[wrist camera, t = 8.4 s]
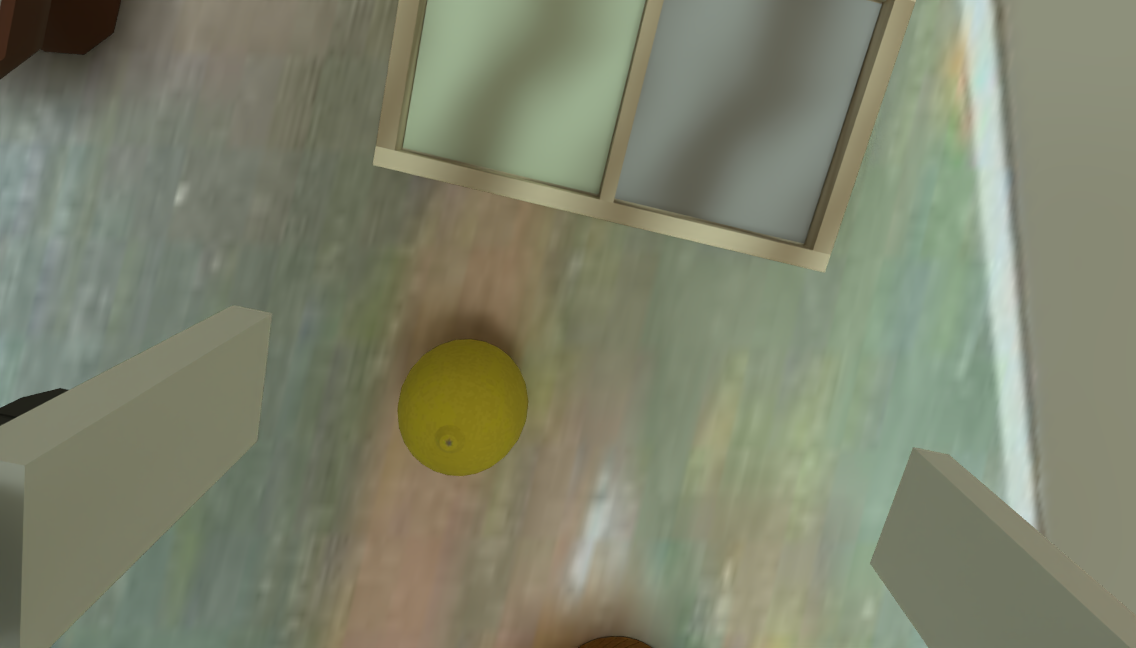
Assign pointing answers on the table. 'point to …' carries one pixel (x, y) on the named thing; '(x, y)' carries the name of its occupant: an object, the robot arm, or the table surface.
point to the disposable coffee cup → (615, 643)
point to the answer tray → (649, 110)
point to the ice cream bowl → (52, 27)
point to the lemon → (462, 407)
